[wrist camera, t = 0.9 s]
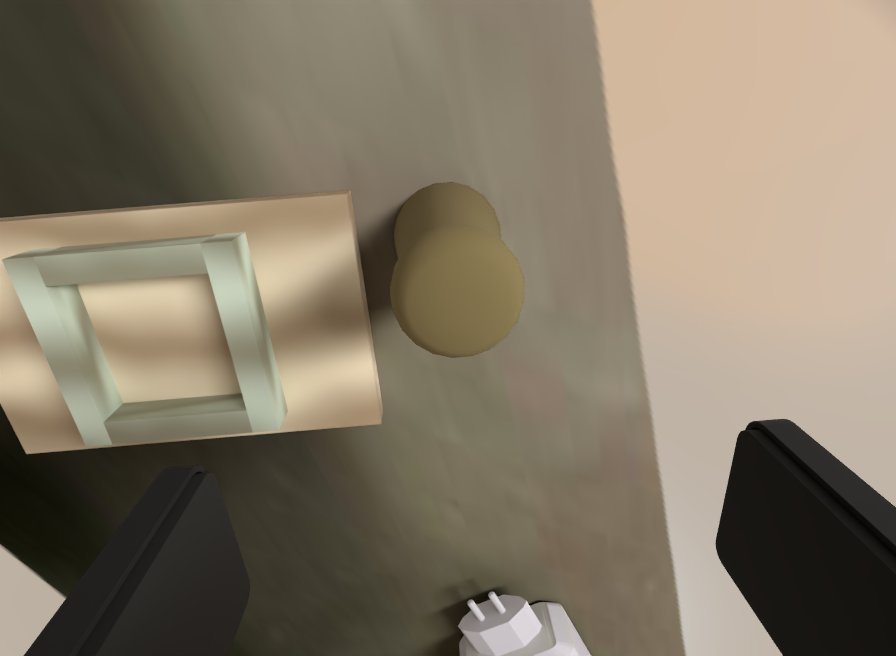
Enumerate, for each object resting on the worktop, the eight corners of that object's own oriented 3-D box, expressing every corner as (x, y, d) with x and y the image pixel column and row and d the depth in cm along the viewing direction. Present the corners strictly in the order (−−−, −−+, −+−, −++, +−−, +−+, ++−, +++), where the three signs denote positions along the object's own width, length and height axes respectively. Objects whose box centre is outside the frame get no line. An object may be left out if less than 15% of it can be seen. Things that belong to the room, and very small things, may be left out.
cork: (467, 159, 26) (493, 187, 16) (519, 254, 28) (572, 332, 18) (372, 219, 27) (340, 281, 17) (429, 306, 29) (432, 407, 19)
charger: (531, 548, 38) (594, 657, 43) (424, 589, 39) (499, 690, 45) (544, 604, 33) (613, 717, 39) (424, 648, 35) (508, 752, 40)
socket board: (-63, 222, 26) (-132, 237, 23) (350, 190, 26) (339, 200, 23) (43, 439, 32) (0, 475, 28) (382, 410, 32) (378, 443, 29)
